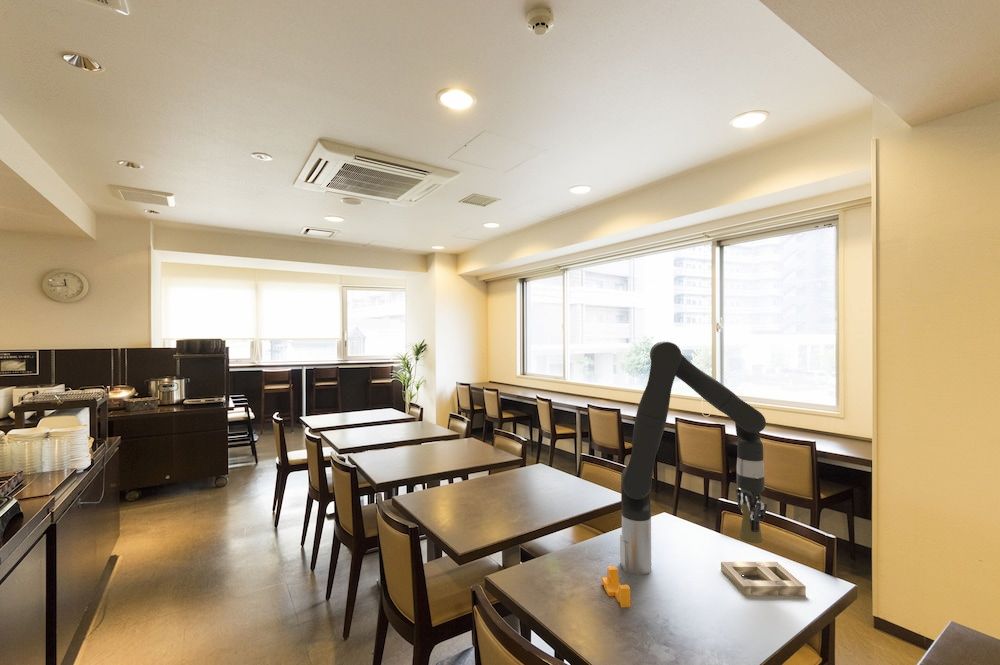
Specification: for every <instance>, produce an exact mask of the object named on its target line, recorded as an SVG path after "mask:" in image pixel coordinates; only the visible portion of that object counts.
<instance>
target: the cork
mask: <svg viewBox="0 0 1000 665" xmlns="http://www.w3.org/2000/svg"><path fill="white" fill-rule="evenodd" d="M751 508H752V509H755V508H756V507H751ZM741 510H742V512H743V513H742V512H741V513H742V519H741V520H742V521H741V525H740V532H739V533H740V534H739V538H740V540H742V541H744V542H747V543H750V544H760V543H762V542H763V538H762V530H761V525H760V522H759V532H752V531H751V523H750V519H751V517H750V513H751V512H750V511H748V507H747V503H745V502H744V503H742V505H741V508H740V511H741ZM754 513H755V512H753V514H754Z"/></svg>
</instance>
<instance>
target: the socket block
mask: <svg viewBox="0 0 1000 665" xmlns="http://www.w3.org/2000/svg"><path fill="white" fill-rule="evenodd" d="M720 571H721V572H722V574H724V575H725V576H726V578H729V579H730V580H729V579H728V580H729V581H730V582H731V583H732V584H733V585H734V587H736V588H737V590H738V591H740V592H741V593H742V595H743V596H776V597H777V596H785V597H786V596H788V597H789V596H790V597H792V596H793V597H805V596H807V594H806V588H807V587H806V585H805V584H804V583H802V581H800V580H799V579H798V578H797V577H795V576H794V575H793V574H792V573H791V572H789V570H787V568H785V567H783V566H782V565H781V564H780V563H779V562H778V561H721V562H720ZM740 575H744V576H743V577H742V576H740ZM744 578H745V579H748V580H745V579H744Z"/></svg>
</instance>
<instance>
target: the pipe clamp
mask: <svg viewBox="0 0 1000 665" xmlns="http://www.w3.org/2000/svg"><path fill="white" fill-rule="evenodd" d="M601 585H602V587H604V590H605V592H606V594H607V596H608V597H615V599H616V602H618V604H620V607H621V608H631V587H630V586H629V584H621V583H620V577H619V569H618V566H616V565H611V566H610V565H609V566H607V576H605V577H603V576H602V577H601Z"/></svg>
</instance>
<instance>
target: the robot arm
mask: <svg viewBox="0 0 1000 665" xmlns="http://www.w3.org/2000/svg"><path fill="white" fill-rule="evenodd" d="M649 359H650V366H649V367H650V369H649V375H648V381H647V384H646V386H645V389H644V391H643V394H642V395H641V398H640V401H639V404H638V408H637V410H636V415H635V419H634V425H633V432H632V444H631V445H632V446H631V455H630V458H629V461H628V464H627V465H626V466H625V467H624V468H623V470H622V472H621V475H620V477H621V478H620V484H621V486H620V487H621V488H620V490H621V491H620V492H621V493H620V494H621V496H620V497H621V498H620V499H621V501H620V503H621V534H620V535H619V552H620V553H619V555H620V557H619V558H620V560H619V562H620V565H621V567H622V570H623V571H624V573H629V574H632V575H636V576H645V575H648V574H650V573H651V572H652V566H653V565H652V506H651V505H652V504H651V489H652V483H653V482H652V481H653V476H654V475H653V473H654V467H655V460H656V456H657V454H658V451H659V448H660V445H661V441H662V438H663V435H664V431H665V427H666V424H667V419H668V415H669V414H668V413H669V408H670V402H671V394H672V388H673V384H674V382H675V378H678V379H679V380H681V381H682V382H683V383H684V384H686V385H687V386H688V387H689V388H691V390H693V391H694V392H695V393H696V394H698V395H699V396H700V397H701V398H702V399H704V400H705V401H706V402H707V403H708V404H709V405H711V406H713V408H715V409H716V410H718V411H719V412H721V413H722V414H724V415H726V416H727V417H728V418H730V420H732V422H734V424H735V432H736V433H735V434H736V438H737V439H736V440H737V455H736V456H737V458H736V486H737V488H735V494H736V502H737V506H738V509H740V511H741V513H742V514H743V512H742V510H741V505H742V503H744V502H745V503H747V507H748V511H750V512H751V513H750V517H751V519H750V523H751V531H752V532H759V523H760V521H765V517H766V512H767V508H768V505H767V502H763V501H762V496H761V492H764V491H765V488H766V487H765V485H766V484H765V462H764V446H763V441H762V440H761V436H760V433H761V432H763V431H764V429H765V427H766V424H767V423H766V422H767V421H766V418H765V416H764V415H763V413H761V412H760V411H759V410H758V409H756V408H755V407H753V406H752V405H750V404H749V403H747V402H745V401H744V400H743V399H741V398H740V397H739V396H738V395H737V394H735V393H734V392H733V391H731V390H730V389H729V388H727V386H725V385H724V384H722V383H721V382H719V381H718V380H716V379H715V378H714V377H712V376H711V375H709V374H707V373H705V372H704V371H703V370H701V369H699V368H698V367H697V366H696V365H694V364H693V363H692V362H690V361H689V360H688V359H687V357H685V356H684V355H683V354H682V351H681V349H680V347H679V346H678V345H677V344H676V343H674V342H672V341H669V340H668V341H665V340H664V341H663V340H662V341H658V342H656V343H655V344H653V346H652V347H651V349H650V352H649ZM751 507H756V508H755V509H752V508H751ZM753 512H755V513H754V514H753Z"/></svg>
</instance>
